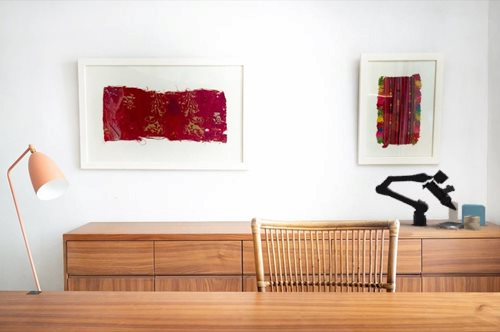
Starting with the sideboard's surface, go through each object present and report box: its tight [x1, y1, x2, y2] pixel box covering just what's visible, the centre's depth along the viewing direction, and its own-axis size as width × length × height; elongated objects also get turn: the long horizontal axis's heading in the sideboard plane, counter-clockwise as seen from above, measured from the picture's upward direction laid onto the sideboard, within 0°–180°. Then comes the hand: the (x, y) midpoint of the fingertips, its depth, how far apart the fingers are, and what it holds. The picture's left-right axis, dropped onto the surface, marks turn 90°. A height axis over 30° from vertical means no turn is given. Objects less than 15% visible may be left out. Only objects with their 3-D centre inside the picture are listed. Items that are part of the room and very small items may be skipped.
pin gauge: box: [439, 225, 460, 230], centre depth 239 cm, size 10×2×2 cm
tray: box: [438, 220, 464, 230], centre depth 244 cm, size 11×11×2 cm
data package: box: [461, 203, 486, 227], centre depth 253 cm, size 12×4×12 cm, turn 72°
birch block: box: [463, 216, 481, 231], centre depth 238 cm, size 6×6×7 cm
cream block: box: [448, 200, 459, 223], centre depth 244 cm, size 4×5×11 cm
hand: (455, 209), depth 244 cm, fingers closed on cream block, 5 cm apart
